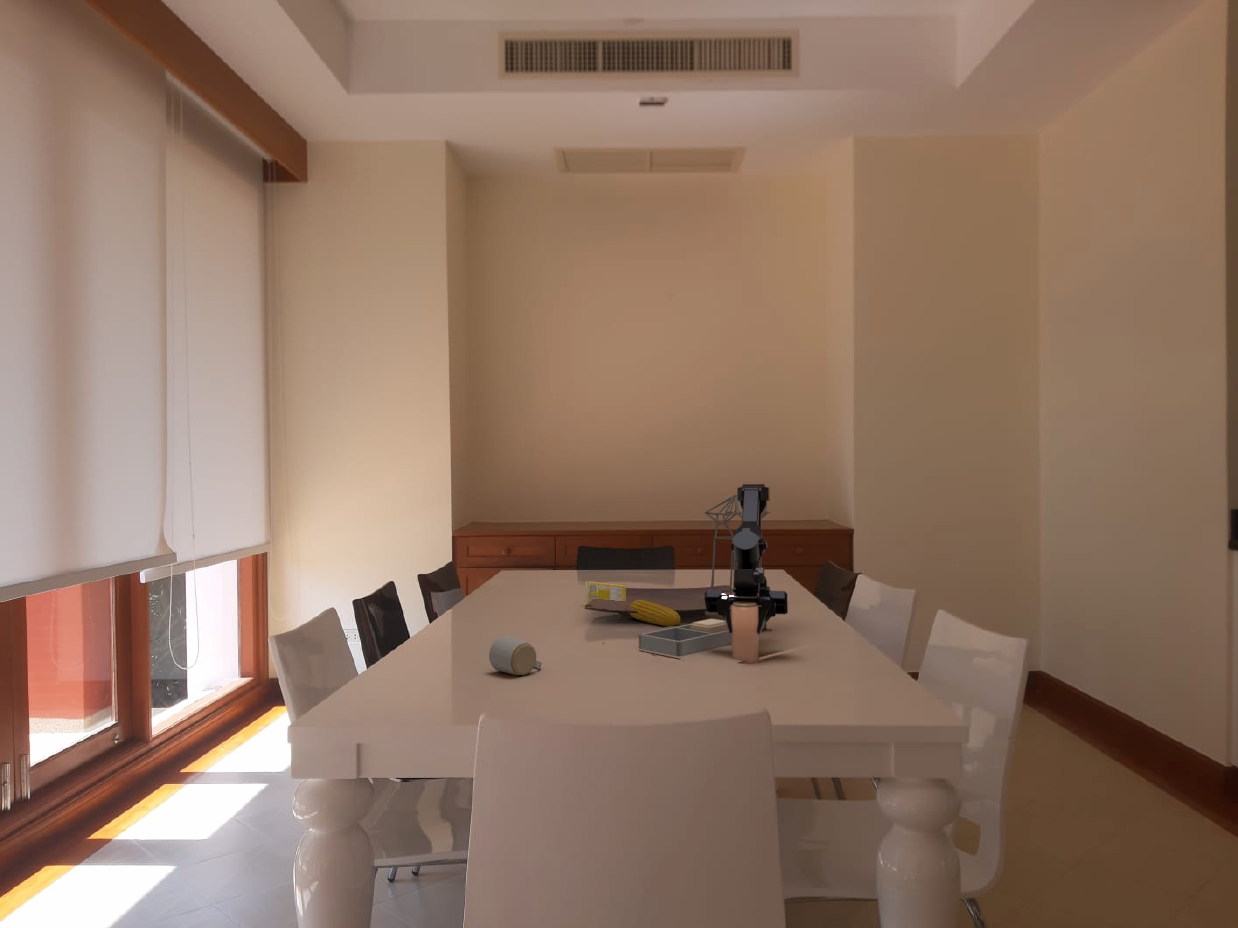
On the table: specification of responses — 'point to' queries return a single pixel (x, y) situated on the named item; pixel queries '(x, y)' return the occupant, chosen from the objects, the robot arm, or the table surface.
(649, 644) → the tray
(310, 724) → the table surface
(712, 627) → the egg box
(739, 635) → the pink beverage can
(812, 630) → the table surface
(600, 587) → the candy box
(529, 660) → the ceramic mug
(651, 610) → the food
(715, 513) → the geometric lantern
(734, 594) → the robot arm
